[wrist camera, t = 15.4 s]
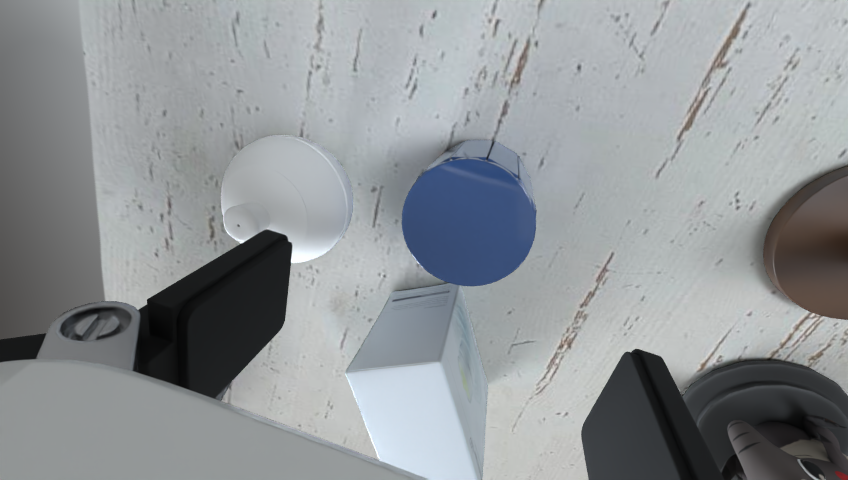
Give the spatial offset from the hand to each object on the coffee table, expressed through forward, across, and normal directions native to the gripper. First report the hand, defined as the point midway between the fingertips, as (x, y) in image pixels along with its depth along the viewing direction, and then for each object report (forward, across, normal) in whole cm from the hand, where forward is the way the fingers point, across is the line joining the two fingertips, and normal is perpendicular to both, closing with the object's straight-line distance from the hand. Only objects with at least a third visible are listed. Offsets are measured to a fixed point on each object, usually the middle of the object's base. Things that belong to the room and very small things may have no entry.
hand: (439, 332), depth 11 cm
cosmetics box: (+19, 0, +14) cm, 24 cm away
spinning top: (+19, +11, +3) cm, 22 cm away
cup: (+19, 0, +1) cm, 19 cm away
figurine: (+19, -25, +12) cm, 34 cm away
